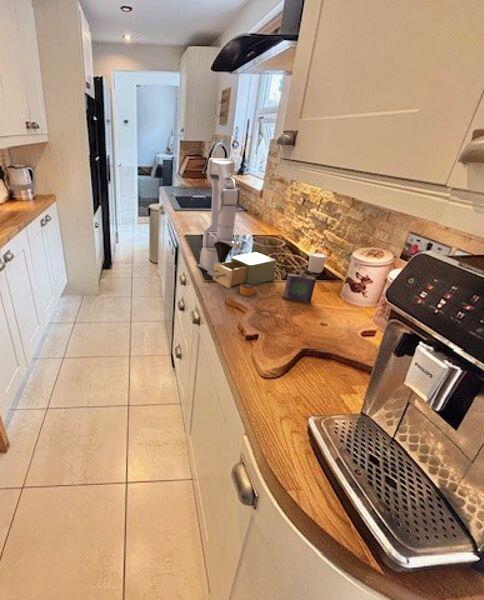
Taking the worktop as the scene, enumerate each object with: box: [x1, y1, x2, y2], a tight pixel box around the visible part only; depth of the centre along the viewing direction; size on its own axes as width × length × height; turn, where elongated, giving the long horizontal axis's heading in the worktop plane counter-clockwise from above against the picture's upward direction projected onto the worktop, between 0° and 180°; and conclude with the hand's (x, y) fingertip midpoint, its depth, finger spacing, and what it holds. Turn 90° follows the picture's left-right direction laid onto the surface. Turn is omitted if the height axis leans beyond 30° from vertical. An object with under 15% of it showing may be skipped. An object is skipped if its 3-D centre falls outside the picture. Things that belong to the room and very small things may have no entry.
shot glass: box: [307, 252, 329, 274], centre depth 140 cm, size 7×7×7 cm
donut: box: [239, 283, 256, 297], centre depth 119 cm, size 5×5×3 cm
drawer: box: [206, 260, 249, 289], centre depth 125 cm, size 17×9×7 cm, turn 119°
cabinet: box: [230, 252, 277, 286], centre depth 130 cm, size 14×11×9 cm
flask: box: [282, 270, 317, 304], centre depth 113 cm, size 9×3×11 cm, turn 65°
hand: (221, 262), depth 119 cm, fingers closed
